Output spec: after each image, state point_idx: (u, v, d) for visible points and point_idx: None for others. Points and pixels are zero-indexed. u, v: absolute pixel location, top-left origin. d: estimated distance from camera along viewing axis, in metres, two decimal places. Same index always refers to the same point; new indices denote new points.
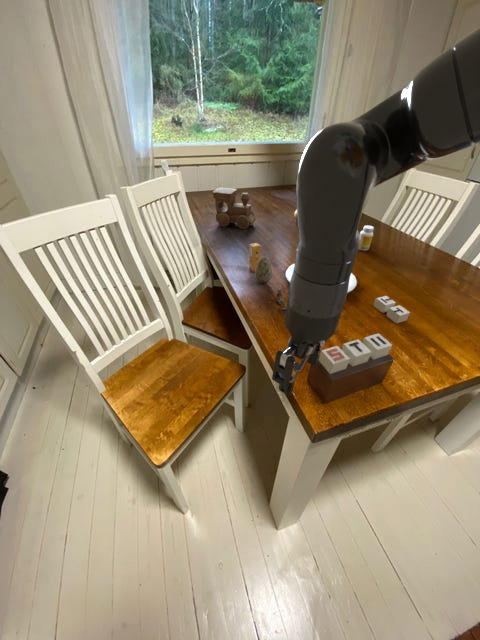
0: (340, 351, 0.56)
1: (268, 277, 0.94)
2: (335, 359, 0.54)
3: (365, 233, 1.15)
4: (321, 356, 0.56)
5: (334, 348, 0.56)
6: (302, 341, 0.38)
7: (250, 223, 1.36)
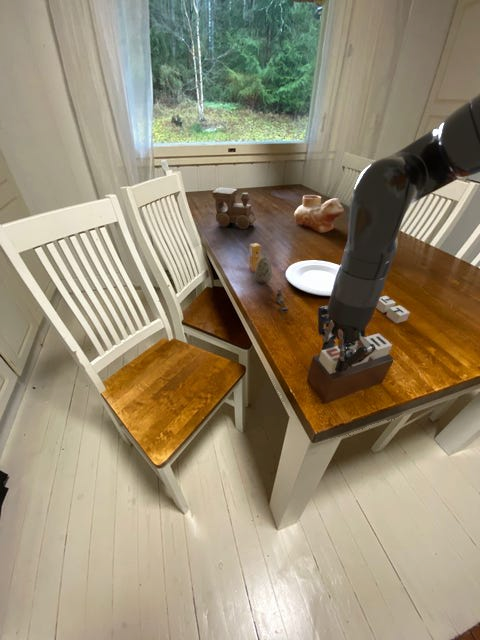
0: None
1: (268, 277, 0.94)
2: (335, 359, 0.54)
3: None
4: (321, 356, 0.56)
5: (334, 348, 0.56)
6: None
7: (250, 223, 1.36)
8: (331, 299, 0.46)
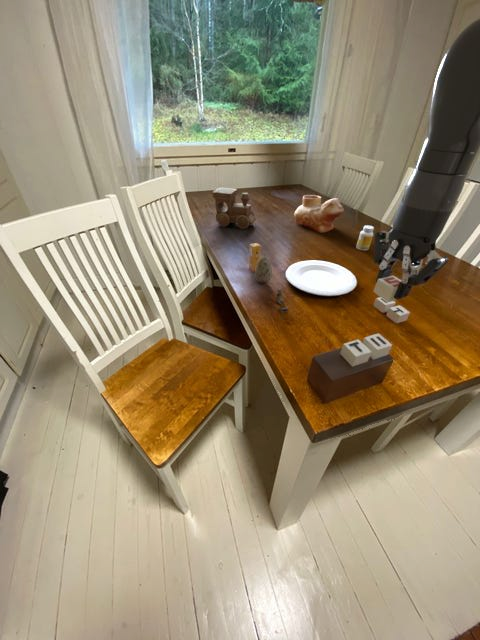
0: (397, 279, 0.53)
1: (268, 277, 0.94)
2: (394, 285, 0.52)
3: (365, 233, 1.15)
4: (377, 286, 0.54)
5: (391, 277, 0.54)
6: (437, 237, 0.44)
7: (250, 223, 1.36)
8: (400, 210, 0.44)
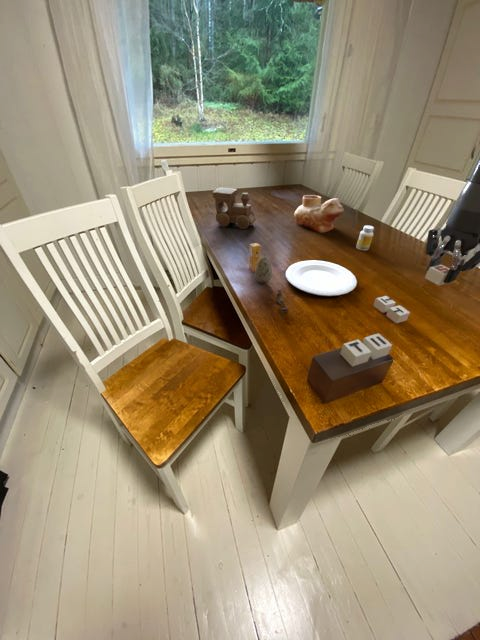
0: (445, 267, 0.67)
1: (268, 277, 0.94)
2: (444, 272, 0.65)
3: (365, 233, 1.15)
4: (428, 273, 0.67)
5: (440, 266, 0.67)
6: None
7: (250, 223, 1.36)
8: (455, 212, 0.58)
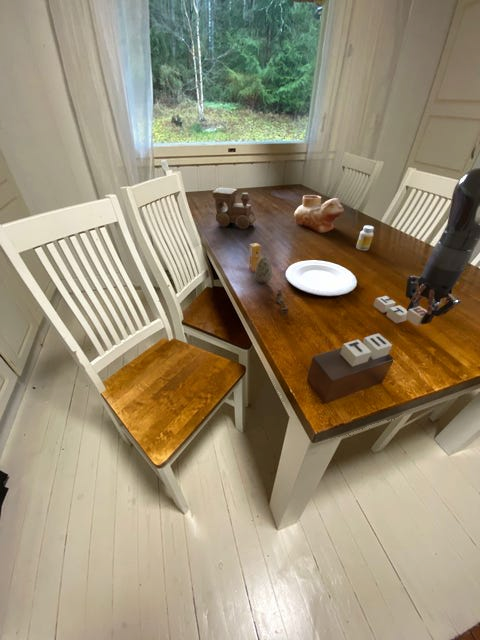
0: (423, 309, 0.75)
1: (268, 277, 0.94)
2: (421, 314, 0.73)
3: (365, 233, 1.15)
4: (408, 314, 0.76)
5: (418, 307, 0.75)
6: None
7: (250, 223, 1.36)
8: (428, 267, 0.66)
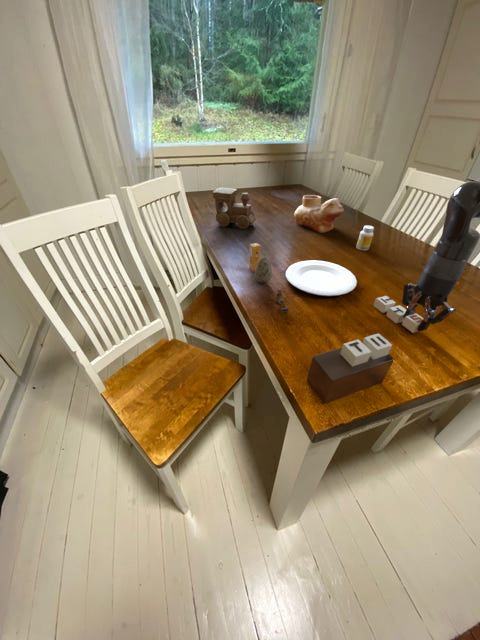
0: (419, 316, 0.76)
1: (268, 277, 0.94)
2: (417, 321, 0.75)
3: (365, 233, 1.15)
4: (405, 321, 0.77)
5: (414, 315, 0.77)
6: (448, 294, 0.67)
7: (250, 223, 1.36)
8: (424, 276, 0.67)
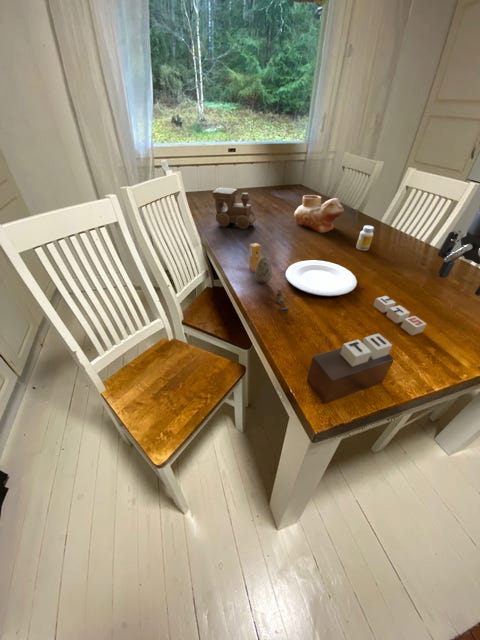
0: (418, 319, 0.77)
1: (268, 277, 0.94)
2: (416, 324, 0.75)
3: (365, 233, 1.15)
4: (403, 323, 0.78)
5: (413, 317, 0.77)
6: None
7: (250, 223, 1.36)
8: (479, 219, 0.53)
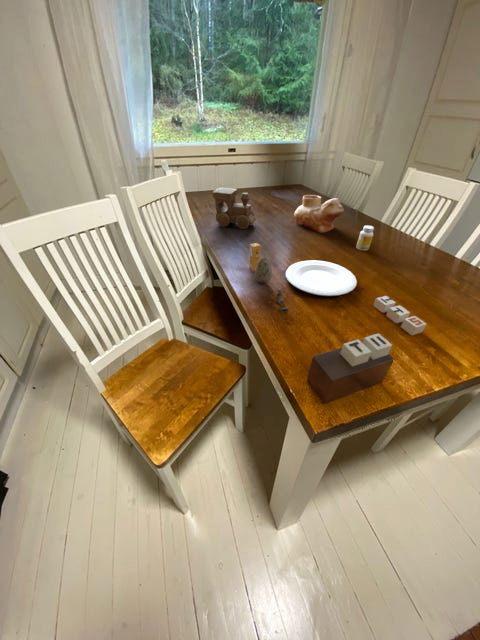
0: (418, 319, 0.77)
1: (268, 277, 0.94)
2: (416, 324, 0.75)
3: (365, 233, 1.15)
4: (403, 323, 0.78)
5: (413, 317, 0.77)
6: None
7: (250, 223, 1.36)
8: None
